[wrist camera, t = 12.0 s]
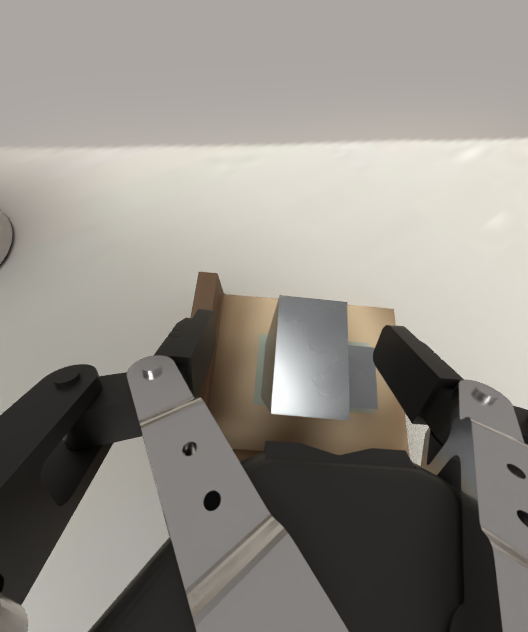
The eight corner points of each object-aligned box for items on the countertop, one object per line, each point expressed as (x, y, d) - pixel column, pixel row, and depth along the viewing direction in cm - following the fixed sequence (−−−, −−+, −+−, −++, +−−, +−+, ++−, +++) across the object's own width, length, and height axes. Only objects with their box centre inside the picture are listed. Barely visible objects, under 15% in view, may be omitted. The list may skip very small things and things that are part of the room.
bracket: (260, 397, 16) (271, 414, 7) (265, 341, 17) (279, 295, 8) (366, 407, 16) (504, 435, 7) (364, 350, 17) (479, 315, 8)
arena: (185, 461, 15) (180, 467, 14) (211, 297, 19) (208, 292, 18) (402, 476, 16) (412, 482, 14) (386, 312, 19) (394, 308, 18)
